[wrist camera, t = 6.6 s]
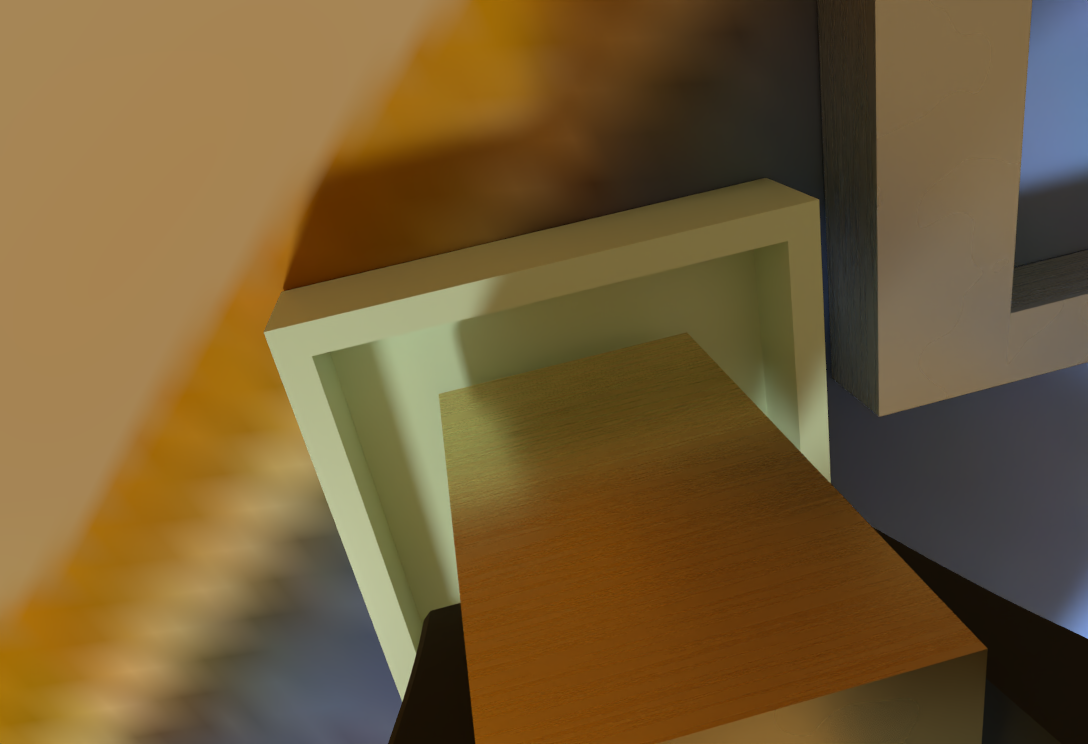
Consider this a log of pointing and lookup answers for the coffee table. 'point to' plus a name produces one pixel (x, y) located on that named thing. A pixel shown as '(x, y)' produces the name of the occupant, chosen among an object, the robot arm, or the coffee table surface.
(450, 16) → the coffee table surface
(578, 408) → the upright wooden block
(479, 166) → the coffee table surface
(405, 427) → the parts tray
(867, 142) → the grey rectangular frame
